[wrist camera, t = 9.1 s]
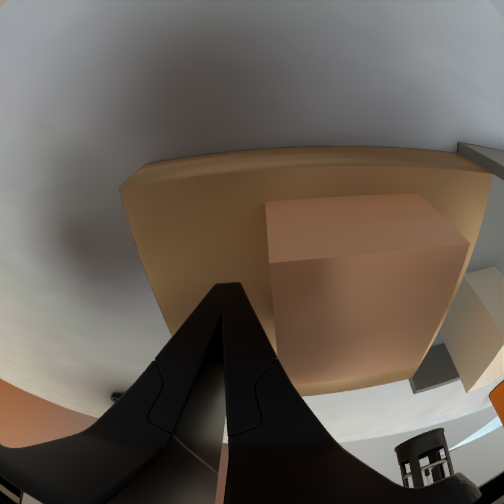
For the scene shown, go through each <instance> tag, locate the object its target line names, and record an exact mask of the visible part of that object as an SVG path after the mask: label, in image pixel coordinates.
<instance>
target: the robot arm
mask: <svg viewBox="0 0 504 504" xmlns="http://www.w3.org/2000/svg"><path fill="white" fill-rule="evenodd" d="M111 400H112V401H113V402H114V404H113V405H112V406H111V407H110V408H109V409H108V410H107V411H106V412H105V413H104V414H103V415H102V416H101V417H100V418H99V419H98V420H97V421H96V422H95V423H94V424H93V425H92V426H90V427H89V428H87V429H86V430H84V431H82V432H80V433H78V434H74V435H72V436H67V437H64V438H61V439H57V440H53V441H49V442H45V443H41V444H36V445H32V446H27V447H22V448H8V447H5V446H3V445H1V444H0V504H215V498H216V490H217V482H218V472H219V464H220V457H221V449H222V441H223V433H224V425H225V417H226V418H227V433H228V447H229V460H228V469H227V478H226V486H225V495H224V503H223V504H504V471H502V472H501V473H499V474H498V475H496V476H495V477H493V478H491V479H490V480H488V481H487V482H485V483H483V484H482V485H480V486H478V487H477V486H476V485H475V484H474V483H473V482H471V481H470V480H469V479H468V478H467V477H465V476H464V475H463V474H462V473H455V474H453V475H451V476H449V477H446V478H444V479H442V480H439V481H437V482H435V483H432V484H430V485H427V486H424V487H420V488H409V487H404V486H401V485H398V484H396V483H394V482H393V481H391V480H389V479H388V478H386V477H385V476H383V475H381V474H380V473H378V472H377V471H375V470H374V469H372V468H371V467H369V466H368V465H366V464H365V463H363V462H362V461H361V460H359V459H358V458H356V457H355V456H353V455H352V454H350V453H349V452H348V451H346V450H345V449H344V448H343V447H342V446H341V445H339V444H338V443H337V442H336V440H335V439H334V438H333V437H332V436H331V435H330V434H329V433H328V431H327V430H326V429H325V428H324V426H323V425H322V424H321V422H320V421H319V420H318V418H317V417H316V416H315V415H314V413H313V412H312V411H311V409H310V408H309V407H308V405H307V404H306V403H305V401H304V400H303V399H302V397H301V396H300V394H299V393H298V391H297V390H296V388H295V387H294V386H293V384H292V382H291V381H290V379H289V377H288V375H287V374H286V372H285V370H284V368H283V366H282V364H281V362H280V360H279V359H278V357H277V355H276V353H275V351H274V349H273V347H272V345H271V343H270V341H269V339H268V337H267V335H266V333H265V331H264V329H263V327H262V325H261V323H260V321H259V319H258V317H257V315H256V313H255V311H254V309H253V307H252V305H251V302H250V300H249V298H248V296H247V294H246V292H245V290H244V288H243V286H242V284H241V283H240V282H229V283H216V284H215V285H214V286H213V287H212V288H211V289H210V291H209V292H208V293H207V294H206V296H205V297H204V298H203V299H202V300H201V302H200V303H199V304H198V305H197V307H196V308H195V309H194V310H193V312H192V313H191V314H190V315H189V317H188V318H187V319H186V320H185V321H184V323H183V324H182V325H181V326H180V328H179V329H178V330H177V331H176V333H175V334H174V335H173V336H172V338H171V339H170V340H169V341H168V343H167V344H166V345H165V346H164V348H163V349H162V350H161V351H160V353H159V354H158V355H157V356H156V358H155V361H152V362H151V364H150V365H149V366H148V367H147V369H146V370H145V371H144V372H143V373H142V375H141V376H140V377H139V378H138V379H137V380H136V382H135V383H134V384H133V385H132V386H131V387H130V388H129V389H128V390H127V391H126V392H125V393H124V394H123V395H119V394H112V395H111Z"/></svg>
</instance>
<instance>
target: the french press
mask: <svg viewBox="0 0 504 504" xmlns="http://www.w3.org/2000/svg"><path fill="white" fill-rule="evenodd" d="M442 448H444V452H445V456H446V458H444V459H441V456H440V452H439V450H440V449H442ZM394 450H395V452H396V453H397V458H398V463H399V465H400V469H401V474H402V480H403V485H404V487H409V484H408V478H410V477H412V480H413V485H414V488H420V487H424V483H423V477H422V473H425V476H427V480H428V485H430V480H429V475H430V473H429V470H431V472H432V477H433V482H434V483H435V482H437V481H439V480H442V479H444V478H446V477H445V473H444V468H443V464H444V463H446V462H447V464H448V468H449V472H450V476H451V475H453V474H454V471H453V467H452V463H451V458H450V454H449V450H448V447H447V443H446V439H445V436H444V428H437V429H434V430H431V431H428V432H425V433H423V434H420V435H418V436H416V437H413V438H411V439H409V440H407V441H405V442H403V443H401V444H400V445H398V446H397V447H396V448H395V449H394ZM427 456H428V459H429V463H430V464H429V465H426V466H424V467H420V463H419V460H420V459H422V458H425V457H427ZM408 463H409V465H410V469H411V472H410V473H406V468H405V464H408Z"/></svg>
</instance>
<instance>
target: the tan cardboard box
mask: <svg viewBox="0 0 504 504" xmlns="http://www.w3.org/2000/svg"><path fill="white" fill-rule="evenodd" d="M265 209H266V222H267V237H268V252H269V266H270V277H271V288H272V299H273V310H274V322H275V334H276V346H277V357H278V359H279V360H280V362H281V364H282V366H283V368H284V370H285V372H286V374H287V375H288V377H289V379H290V381H291V382H292V384H293V385H302V384H311V383H320V382H328V381H335V380H342V379H348V378H354V377H360V376H366V375H371V374H376V373H381V372H386V371H391V370H395V369H400V368H404V367H408V366H412V365H416V364H419V363H420V361H421V359H422V357H423V355H424V354H425V352H426V350H427V348H428V346H429V344H430V342H431V340H432V338H433V336H434V334H435V332H436V330H437V328H438V326H439V324H440V322H441V319H442V317H443V315H444V313H445V311H446V308H447V306H448V304H449V301H450V299H451V296H452V294H453V291H454V289H455V286H456V284H457V281H458V278H459V276H460V273H461V270H462V267H463V264H464V261H465V258H466V255H467V252H468V249H469V246H470V243H469V242H468V241H467V239H466V238H465V237H464V236H463V235H462V234H461V233H460V232H459V231H458V230H457V229H456V228H455V227H454V226H453V225H452V224H451V223H450V222H449V221H448V220H447V219H446V218H445V217H443V216H442V215H441V214H440V213H439V212H438V211H437V210H436V209H435V208H434V207H433V206H432V205H431V204H429V203H428V202H427V201H426V200H425V199H424V198H423V197H422V196H420V195H419V194H386V195H361V196H341V197H324V198H309V199H296V200H283V201H271V202H265Z"/></svg>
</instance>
